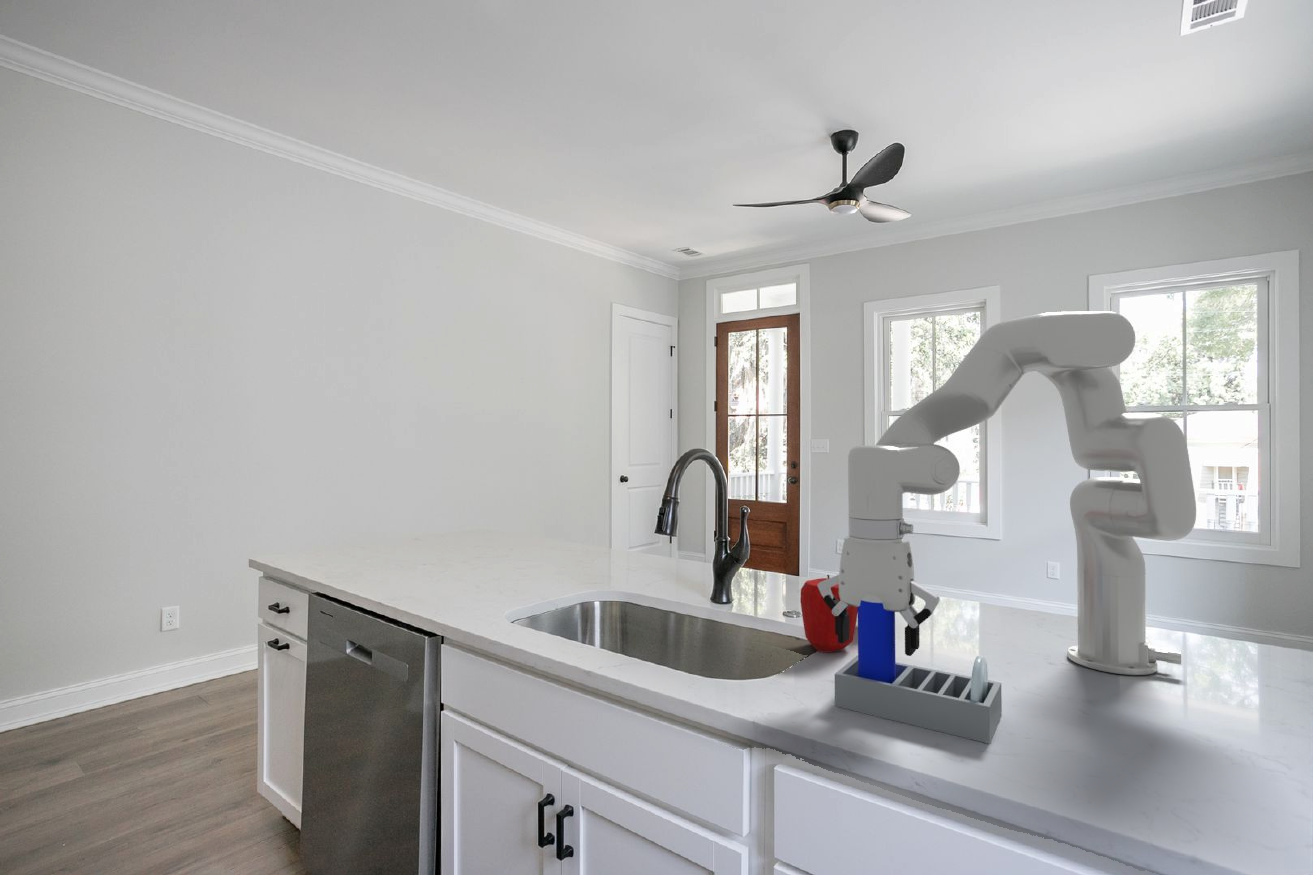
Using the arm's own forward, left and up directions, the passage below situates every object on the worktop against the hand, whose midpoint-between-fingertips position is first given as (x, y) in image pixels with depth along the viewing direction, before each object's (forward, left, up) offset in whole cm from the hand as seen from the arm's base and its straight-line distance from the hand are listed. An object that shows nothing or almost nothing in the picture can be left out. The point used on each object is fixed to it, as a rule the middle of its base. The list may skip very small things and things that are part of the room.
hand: (876, 646), depth 95 cm
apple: (+14, -19, -8) cm, 26 cm away
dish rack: (-6, 0, -8) cm, 10 cm away
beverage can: (0, 0, -7) cm, 7 cm away
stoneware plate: (-14, 0, -7) cm, 15 cm away
